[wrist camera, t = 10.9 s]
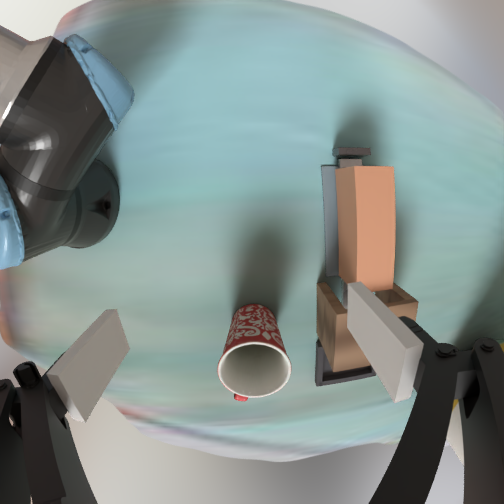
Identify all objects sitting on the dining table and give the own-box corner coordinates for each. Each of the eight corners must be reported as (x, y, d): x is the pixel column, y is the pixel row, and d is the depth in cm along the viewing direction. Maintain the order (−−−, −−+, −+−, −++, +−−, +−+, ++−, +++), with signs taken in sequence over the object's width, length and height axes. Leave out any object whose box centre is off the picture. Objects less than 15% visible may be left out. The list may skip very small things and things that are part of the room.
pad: (376, 270, 43) (377, 271, 43) (325, 276, 43) (326, 276, 43) (375, 166, 39) (375, 166, 39) (321, 166, 39) (321, 166, 39)
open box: (379, 322, 45) (408, 356, 34) (316, 332, 46) (333, 372, 34) (384, 275, 43) (418, 301, 32) (316, 283, 44) (336, 314, 32)
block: (370, 271, 42) (392, 289, 34) (338, 275, 42) (356, 294, 34) (368, 169, 38) (393, 166, 30) (335, 169, 38) (354, 166, 30)
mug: (235, 290, 44) (228, 333, 31) (289, 306, 45) (302, 352, 31) (214, 353, 47) (203, 405, 34) (263, 366, 47) (267, 420, 34)
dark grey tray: (372, 370, 48) (376, 375, 46) (314, 380, 48) (316, 386, 46) (378, 332, 46) (382, 336, 44) (316, 342, 46) (318, 347, 44)
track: (361, 332, 46) (367, 341, 43) (335, 337, 46) (340, 345, 43) (362, 150, 39) (370, 148, 36) (332, 149, 39) (338, 147, 36)
